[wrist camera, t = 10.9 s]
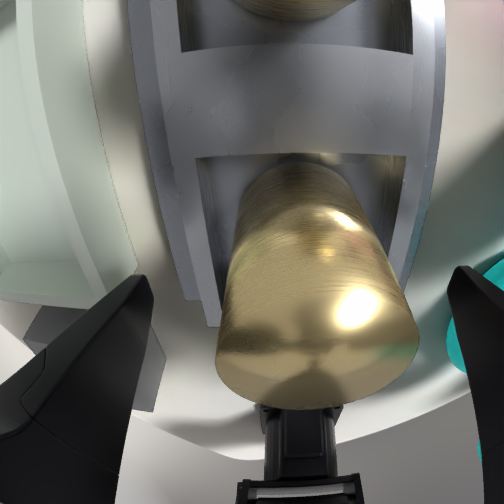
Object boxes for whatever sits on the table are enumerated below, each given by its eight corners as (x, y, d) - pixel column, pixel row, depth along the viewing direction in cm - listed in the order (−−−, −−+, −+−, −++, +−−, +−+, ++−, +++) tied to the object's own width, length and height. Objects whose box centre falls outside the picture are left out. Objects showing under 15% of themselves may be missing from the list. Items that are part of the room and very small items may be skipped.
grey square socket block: (166, 358, 18) (152, 412, 15) (91, 350, 19) (72, 396, 16) (136, 292, 15) (110, 354, 12) (53, 289, 15) (22, 339, 12)
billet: (364, 162, 9) (448, 287, 5) (351, 266, 12) (387, 401, 7) (231, 165, 10) (195, 298, 5) (243, 270, 12) (229, 410, 8)
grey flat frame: (396, 280, 14) (412, 318, 12) (189, 285, 14) (178, 325, 12) (414, -90, 4) (443, -110, 2) (135, -89, 4) (106, -111, 2)
